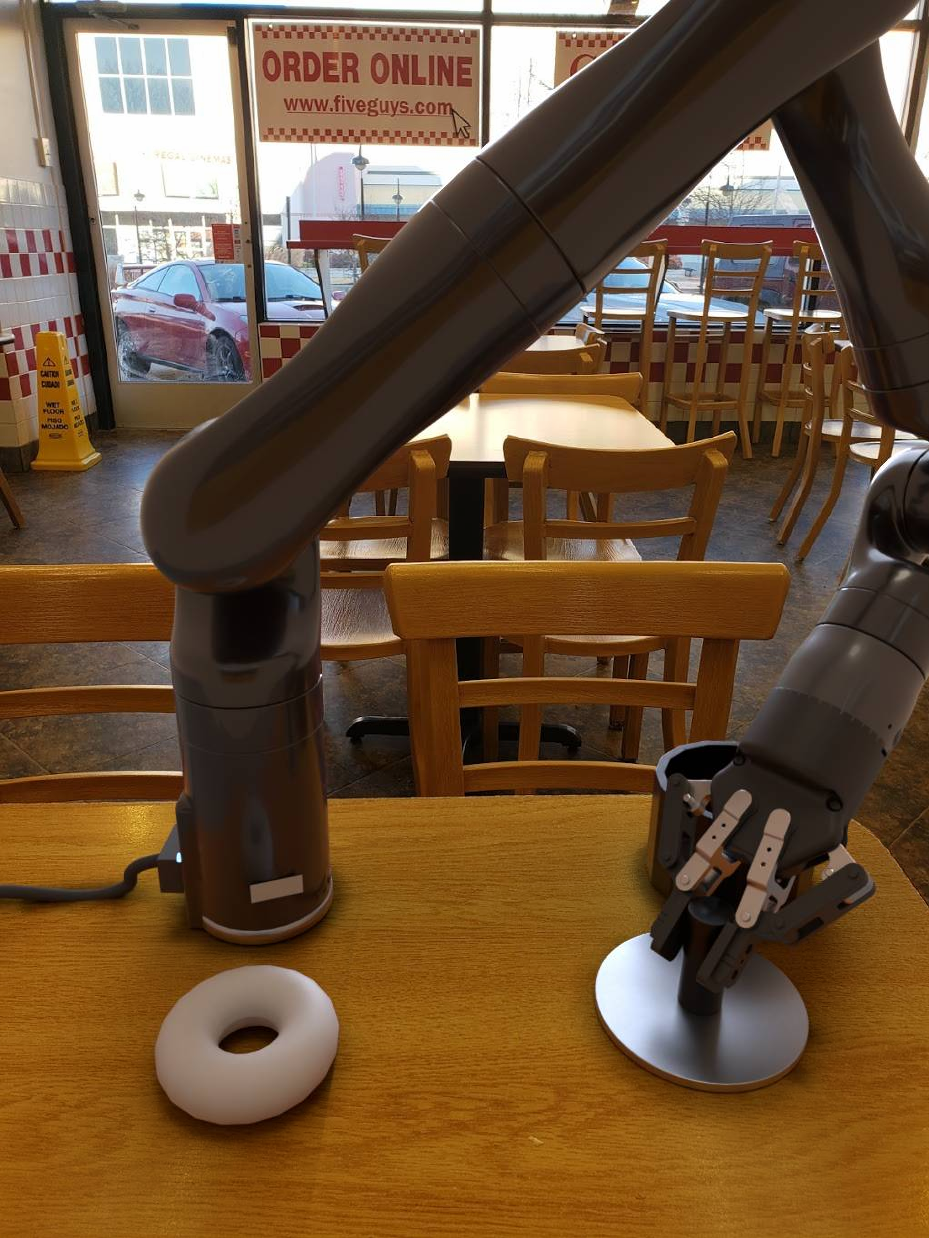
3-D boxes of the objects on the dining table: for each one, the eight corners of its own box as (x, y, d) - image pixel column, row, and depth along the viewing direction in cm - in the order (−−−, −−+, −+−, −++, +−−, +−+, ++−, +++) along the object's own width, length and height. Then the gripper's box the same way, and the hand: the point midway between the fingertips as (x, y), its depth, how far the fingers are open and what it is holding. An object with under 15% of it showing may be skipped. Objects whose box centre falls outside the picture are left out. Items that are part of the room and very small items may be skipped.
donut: (316, 1150, 48) (356, 1002, 57) (313, 1101, 46) (354, 957, 56) (127, 1132, 49) (196, 988, 58) (118, 1083, 47) (191, 944, 56)
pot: (662, 932, 63) (674, 825, 60) (634, 835, 74) (643, 739, 71) (831, 935, 63) (852, 827, 60) (779, 837, 74) (794, 741, 71)
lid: (608, 1099, 51) (618, 987, 48) (582, 942, 62) (589, 844, 59) (838, 1102, 51) (861, 990, 48) (769, 945, 62) (785, 847, 59)
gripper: (712, 652, 59) (564, 890, 56) (934, 735, 49) (768, 1031, 46) (751, 704, 64) (618, 926, 61) (959, 790, 54) (812, 1059, 51)
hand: (683, 969), depth 54 cm, fingers closed on lid, 2 cm apart
